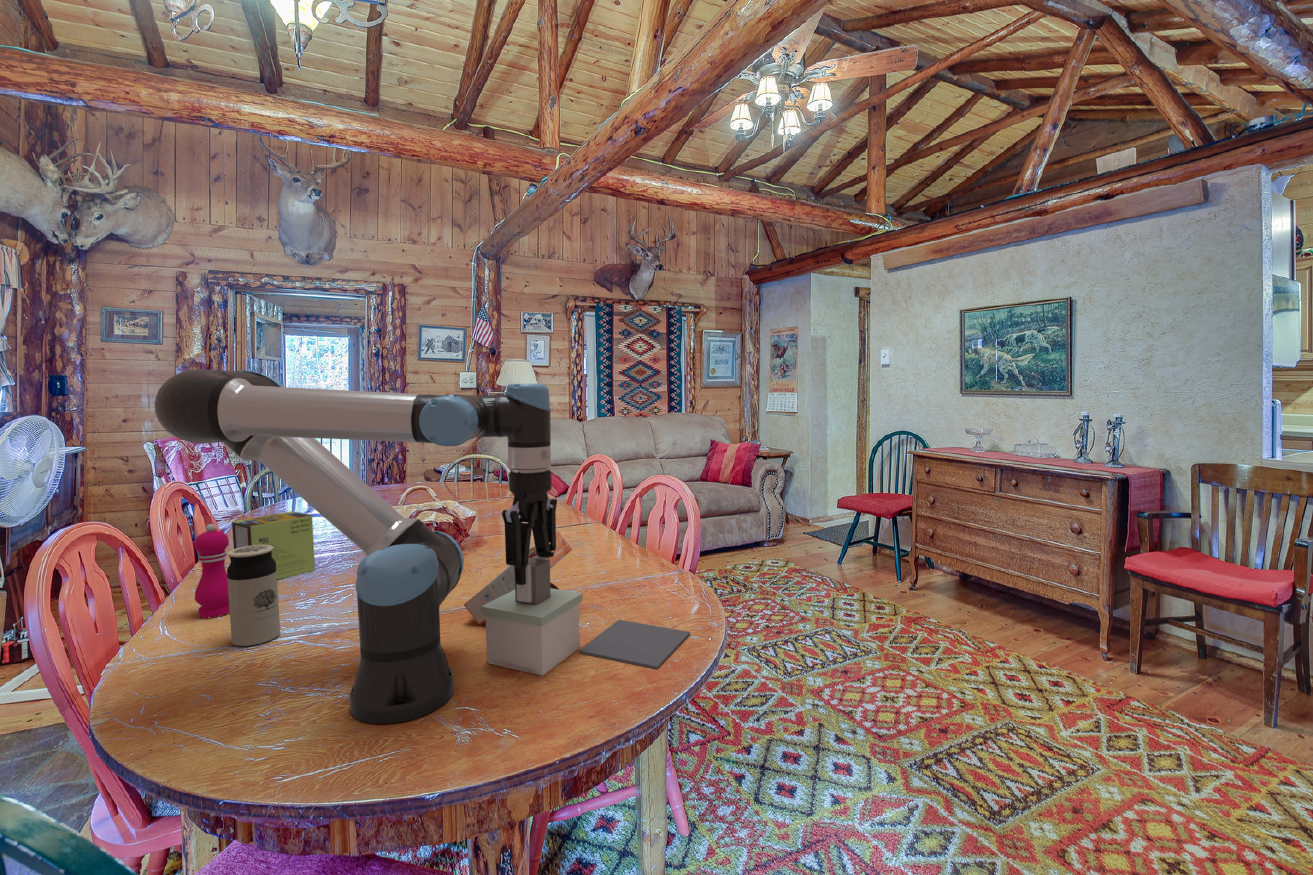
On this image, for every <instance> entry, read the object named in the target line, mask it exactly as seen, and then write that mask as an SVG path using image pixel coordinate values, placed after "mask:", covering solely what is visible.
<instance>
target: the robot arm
mask: <svg viewBox="0 0 1313 875" xmlns="http://www.w3.org/2000/svg"><path fill="white" fill-rule="evenodd" d="M153 405H154V412H155V416H156V418H157V421H158V422H159V423H160V424H159V425H161V427H163V429H164V430H165V431H166V432H168V433H169V434H171V436H173V437H175V438H177V439H179V440H182V441H185V442H187V443H192V444H216V443H223V444H224V445H226V446H227V448H229V450H231V451H233V453H235V455H237V456H238V457H239V458H241V459H242V460H243V461H247V462H248V461H249V462H250V461H254V462H256V461H258V462H260V463H261V464H262V465H264V466H265V467H266V469H268V470H269V471H270V472H271V473H273V474H274V475H275V476H276V477H277V478H278V479H279V480H281V481H282V482H283V483H284V484H285V485H287V487H289V488H290V490H292V491H293V492H294V493H295V494H297V495H298V496H299V497H300V498H301V499H302V500H304V501H305V502H306V503H307V504H308V505H310V507H312V508H313V509H314V510H315V511H316V512H318V514H320V515H321V516H322V517H323V518H324V519H326V520H327V521H328V522H329V523H330V524H331V525H332V526H333V527H335V528H336V529H337V530H338V531H339V532H340V533H341V534H343V535H344V536H345V537H346V538H347V539H349V540H350V541H351V542H352V543H353V544H354V545H356V546H357V547H358V548H359V549H360V551H362V552H363V553H364V554H365V555H366V556H365V557H364V558H363V559H362V560H361V562H360V563H359V564H358V566H357V571H356V580H355V582H356V583H355V591H356V597H357V598H356V602H357V614H358V615H357V616H358V617H357V618H358V636H359V651H360V659H359V663H358V667H357V670H356V674H355V679H354V683H353V685H352V687H351V690H350V693H349V709H350V710H349V711H350V714H351V715H352V716H353V717H354V718H355V719H356V720H358V721H361V722H364V723H368V724H375V725H376V724H377V725H378V724H379V725H381V724H383V725H385V724H397V723H402V722H406V721H407V722H408V721H411V720H415V719H417V718H421V717H423V716H425V715H428V714H430V713H432V712H434V711H436V710H438V709H439V708H441V707H442V706H444V705H445V704H446V703H447V702H448V701H449V700H450V699H451V697H452V696H453V694H454V690H455V688H454V687H455V686H454V674H453V671H452V669H451V668H450V666H449V662H448V659H447V656H446V655H445V652H444V650H443V648H442V644H441V643H442V642H441V623H440V622H441V618H440V615H441V614H440V607H441V605H442V604H443V603H444V602H445V600H446V599H447V597H448V596H449V595H450V593H451V592H452V591H453V590H454V589H456V587H457V585H458V583H459V581H460V579H461V577H462V573H463V570H464V565H465V562H464V558H465V557H464V553H463V551H462V548H461V546H460V544H459V543H458V542H457V541H456V540H455V538H453V537H452V536H451V535H449V534H448V533H445V532H444V531H443V532H442V531H440V530H432V529H431V528H430V527H429V526H427V525H426V524H425V523H424V522H423V521H422V520H420V518H418V517H412V518H410V517H409V518H408V517H404V516H403V515H402V514H401V513H400V512H399V511H397V510H396V509H395V508H394V507H393V506H392V505H391V504H390V503H388V502H387V501H386V500H385V499H383V498H382V496H381V495H379V494H378V493H377V492H376V491H374V489H373V488H371V487H370V486H369V485H368V484H367V483H366V482H364V480H362V479H361V478H360V477H359V476H358V475H357V474H355V473H354V472H353V471H352V470H351V469H350V468H349V467H348V466H346V464H344V463H343V462H342V461H341V460H340V459H339V458H338V457H337V456H335V455H334V454H333V453H332V452H331V451H330V450H329V449H327V447H325V446H324V445H323V444H322V443H321V442H320V441H319V440H318V439H328V440H329V439H331V440H351V441H352V440H354V441H373V442H375V441H378V442H379V441H380V442H381V441H382V442H401V443H402V442H404V443H405V442H406V443H421V444H434V445H436V446H439V447H440V446H441V447H458V446H461V445H463V444H465V443H466V442H468V441H470V440H473V439H475V438H476V439H478V438H503V437H505V438H507V441H508V442H507V467H508V468H509V469H510V470H511V471H509V473H508V489H509V492H511V493H512V495H513V501H512V507H510V508H509V509H508V510H507V509H504V510H502V513H501V515H502V516H501V517H502V520H503V523H504V542H505V543H504V545H505V546H504V547H505V563H506V565H507V566H510V565H512V566H514V567H515V582H516V584H517V601H523V602H528V603H530V602H531V601H532V588H531V566H530V565H528V557H529V549H530V548H531V538H532V536H533V543H534V545H535V548H536V554H537V555H539V557H537V556H536V557H534V558H536V559H544V560H549V557H553V556H554V552H551V551H555V549H556V531H557V527H556V526H557V520H556V518H557V517H556V513H557V512H556V511H557V506H558V505H557V504H558V499H557V498H549V496H548V492H550V491H551V490H552V488H553V485H552V484H553V483H552V471H551V470H550V469H549V468H550V467H551V466H552V458H551V456H552V455H551V439H552V438H551V432H552V431H551V403H550V389H549V388H548V386H547V385H546V384H543V383H510V384H508V385H506V391H505V393H504V394H497V395H496V394H495V395H494V394H492V395H491V394H489V395H488V394H458V393H457V394H451V395H450V394H449V395H447V394H446V395H445V394H442V395H441V394H420V393H406V392H405V393H404V392H403V393H401V392H387V391H386V392H382V391H379V392H378V391H363V390H362V391H361V390H346V389H326V388H325V389H324V388H307V387H287V386H284V385H283V384H282V383H281V382H279V381H278V380H276V379H275V378H273V377H272V376H269V375H267V374H264V373H259V372H256V371H252V370H245V369H244V370H241V369H239V370H220V369H219V370H217V369H202V368H201V369H200V368H199V369H190V370H185V371H182V372H179V373H176V374H174V375H172V376H171V377H170V378H168V379H167V380H166V381H164V383H163V384H161V386H160V388H158V391H157V393H156V395H155V399H154V403H153ZM549 543H550V544H549ZM521 558H522V560H521Z"/></svg>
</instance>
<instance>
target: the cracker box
mask: <svg viewBox="0 0 1313 875" xmlns="http://www.w3.org/2000/svg"><path fill="white" fill-rule="evenodd" d="M549 544H550V543H549ZM572 550H573V549H572V547H571V545H570V543H568V542H567V540H566V539H565V538H564V537H563V536H562V535H561V533H560V532H559V531H558V530H556V549H555V551H551V552H554V556H553V557H549V560H550V570H551V569H553V567H555V566H556V565H557V564H558V563H559V562H560V561H561V560H562V559H563V558H564V557H566V556H567V555H568V554H569V553H570V552H571V551H572ZM536 556H537V557H539V555H537V554H536V548H535V544H534V545H532V546H530V549H529V557H528V558H534V557H536ZM521 560H522V558H521ZM513 590H515V567H514V566H512V565H508V566H507V567H506V568H505V569H504V570H502V572H500V573H499V574H498V575H497V576H496V577H494V578H493V579H492V580H491V581H490V582H489V583H487V584H486V585H485V586H484V587H483V588H481V589H480V590H479V591H477V593H475V595H473V596H472V597H471V598H469V599H468V600H467V601H466V602H465V603H464V604H463V606H464V607H465V609H466V610H467V611H468V613H469V614H470V615H471V616H472V618H473V619H474V620H475V622H476V623H477V624H478V625H479V626H481V625H483V624H484V623H486V617H485V615H481V606H483V605H485V604H487V603H489V602H491V601H493V600H495V599H497V598H499V597H501V596H503V595H505V594H507V593H509V592H511V591H513Z"/></svg>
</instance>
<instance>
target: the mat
mask: <svg viewBox="0 0 1313 875" xmlns="http://www.w3.org/2000/svg"><path fill="white" fill-rule="evenodd" d="M690 635H691V631H685V630H680V629H675V628H670V627H664V626H657V625H652V624H646V623H641V622H635V621H629V620H624V619H618V620H616V621H615V622H614V623H613V624H611V625H610V626H608V627H607V628H606V629H605V630H603V631H602V632H601V633H599V634H598V635H597V636H595V637H593V639H591V640H590V641H589V642H587V644H585V645H584V646H582V647H580V648H579V649H578V654H582V655H586V656H592V657H596V658H601V659H607V660H612V661H616V662H621V663H624V664H625V663H626V664H631V665H635V666H638V667H639V666H640V667H645V668H649V669H654V670H658V669H659V668H660V667H661V666H662V665H663V663H665V662H666V661H667V660H668V659H669V657H671V656H672V654H674V652H675V651H676V650H678V648H679V647H680V646H681V645H682V644H683V643H682V642H685V640H687V639H688V637H689V636H690ZM681 643H682V644H681Z"/></svg>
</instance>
